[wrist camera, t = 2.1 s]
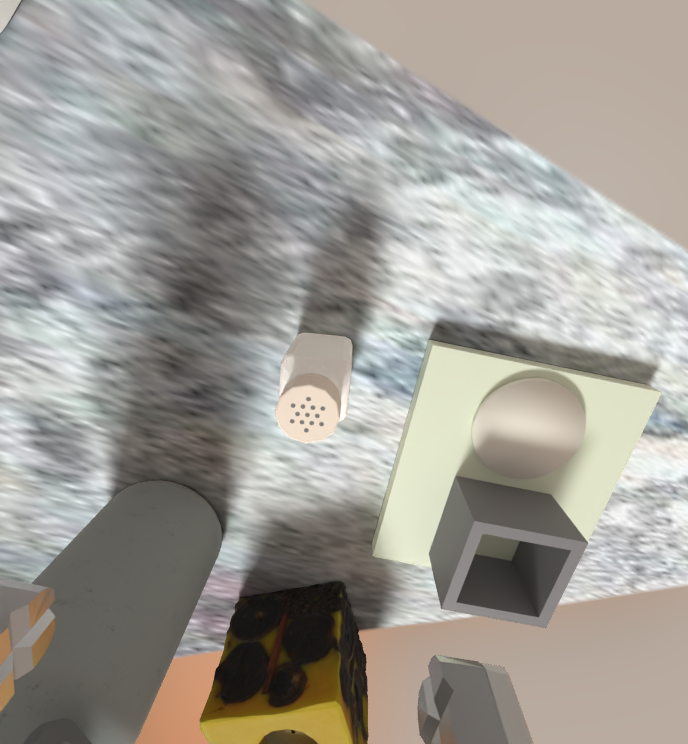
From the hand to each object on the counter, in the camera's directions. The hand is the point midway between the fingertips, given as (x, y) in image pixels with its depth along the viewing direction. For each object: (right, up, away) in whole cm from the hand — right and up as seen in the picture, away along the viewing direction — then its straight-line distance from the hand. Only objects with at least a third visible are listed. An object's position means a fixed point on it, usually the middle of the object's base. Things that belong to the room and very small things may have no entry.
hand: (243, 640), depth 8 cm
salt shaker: (+1, +7, +20) cm, 21 cm away
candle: (-2, -18, +28) cm, 34 cm away
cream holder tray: (+14, -2, +22) cm, 26 cm away
